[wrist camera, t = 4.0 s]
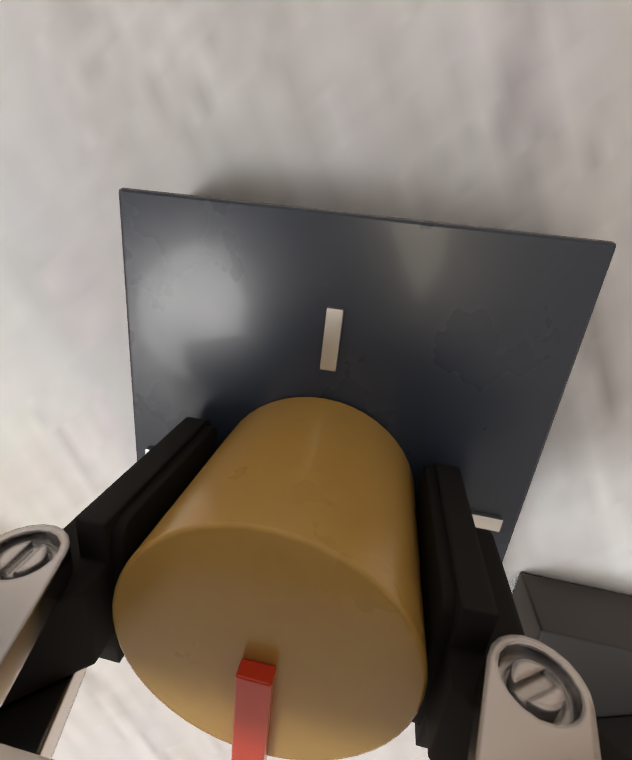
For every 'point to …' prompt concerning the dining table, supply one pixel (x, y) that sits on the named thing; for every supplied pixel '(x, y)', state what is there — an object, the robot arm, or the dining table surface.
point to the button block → (586, 643)
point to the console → (359, 329)
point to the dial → (285, 589)
